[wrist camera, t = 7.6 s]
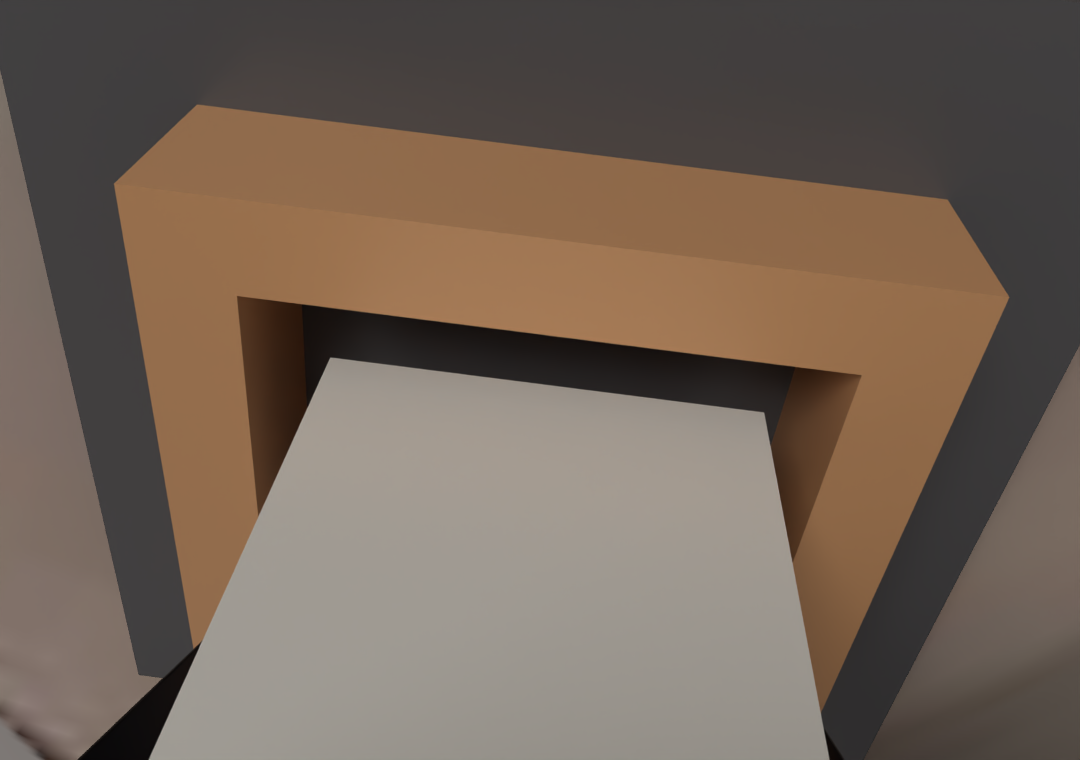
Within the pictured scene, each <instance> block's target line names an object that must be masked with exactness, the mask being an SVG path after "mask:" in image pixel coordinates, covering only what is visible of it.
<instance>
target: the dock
mask: <svg viewBox="0 0 1080 760" xmlns="http://www.w3.org/2000/svg"><path fill="white" fill-rule="evenodd" d="M0 70H1V75H2V79H3V84H4V88H5V92H6V97H7V101H8V105H9V110H10V114H11V119H12V123H13V127H14V132H15V136H16V140H17V145H18V149H19V154H20V158H21V162H22V167H23V171H24V175H25V180H26V184H27V188H28V193H29V197H30V202H31V206H32V210H33V215H34V219H35V223H36V228H37V232H38V237H39V241H40V245H41V250H42V254H43V258H44V263H45V267H46V272H47V276H48V280H49V285H50V289H51V293H52V298H53V302H54V306H55V311H56V315H57V320H58V324H59V328H60V333H61V337H62V341H63V346H64V350H65V355H66V359H67V363H68V368H69V372H70V376H71V381H72V385H73V390H74V394H75V398H76V403H77V407H78V411H79V416H80V420H81V424H82V429H83V433H84V438H85V442H86V446H87V451H88V455H89V459H90V464H91V468H92V473H93V477H94V481H95V486H96V490H97V494H98V499H99V503H100V508H101V512H102V516H103V521H104V525H105V529H106V534H107V538H108V542H109V547H110V551H111V556H112V560H113V564H114V569H115V573H116V577H117V582H118V586H119V591H120V595H121V599H122V604H123V608H124V612H125V617H126V621H127V626H128V630H129V634H130V639H131V643H132V647H133V652H134V656H135V660H136V665H137V669H138V674H139V675H144V676H151V677H159V678H164V677H165V676H166V675H167V674H168V673H169V672H170V671H171V670H172V669H173V668H174V667H175V666H176V665H177V664H178V663H179V662H180V661H181V660H182V659H184V658H185V657H186V656H187V655H188V654H189V653H190V652H191V651H192V650H193V649H194V648H195V647H196V646H197V645H198V644H199V643H200V642H201V641H202V640H203V638H204V636H205V634H206V632H207V629H208V627H209V625H210V623H211V621H212V618H213V616H214V614H215V612H216V610H217V607H218V605H219V603H220V601H221V598H222V596H223V594H224V592H225V590H226V587H227V585H228V583H229V581H230V579H231V576H232V574H233V572H234V570H235V567H236V565H237V563H238V561H239V559H240V556H241V554H242V552H243V550H244V548H245V545H246V543H247V541H248V539H249V536H250V534H251V532H252V530H253V528H254V525H255V523H256V521H257V519H258V517H259V514H260V512H261V510H262V508H263V505H264V503H265V501H266V499H267V497H268V494H269V492H270V490H271V488H272V486H273V483H274V481H275V479H276V477H277V474H278V472H279V470H280V468H281V466H282V463H283V461H284V459H285V457H286V455H287V452H288V450H289V448H290V446H291V443H292V441H293V439H294V437H295V435H296V432H297V430H298V428H299V426H300V424H301V421H302V419H303V417H304V415H305V412H306V410H307V408H308V406H309V404H310V401H311V399H312V397H313V395H314V393H315V390H316V388H317V386H318V384H319V381H320V379H321V377H322V375H323V373H324V370H325V368H326V366H327V364H328V362H329V359H330V357H331V358H339V359H346V360H354V361H362V362H370V363H378V364H386V365H394V366H402V367H409V368H417V369H425V370H433V371H441V372H449V373H457V374H465V375H473V376H480V377H488V378H496V379H504V380H512V381H520V382H528V383H536V384H543V385H551V386H559V387H567V388H575V389H583V390H591V391H599V392H606V393H614V394H622V395H630V396H638V397H646V398H654V399H662V400H670V401H677V402H685V403H693V404H701V405H709V406H717V407H725V408H733V409H740V410H748V411H756V412H764V415H765V420H766V425H767V431H768V436H769V441H770V447H771V452H772V457H773V462H774V468H775V473H776V478H777V484H778V489H779V494H780V500H781V505H782V510H783V516H784V521H785V526H786V531H787V537H788V542H789V547H790V553H791V558H792V563H793V569H794V574H795V579H796V585H797V590H798V595H799V601H800V606H801V611H802V616H803V622H804V627H805V632H806V638H807V643H808V648H809V654H810V659H811V664H812V670H813V675H814V680H815V686H816V691H817V696H818V701H819V707H820V712H821V717H822V723H823V727H824V728H825V730H826V731H827V733H828V735H829V736H830V738H831V739H832V741H833V742H834V744H835V746H836V747H837V749H838V750H839V752H840V753H841V755H842V757H843V758H844V760H863V759H864V757H865V755H866V754H867V752H868V750H869V748H870V746H871V744H872V742H873V740H874V738H875V736H876V734H877V732H878V730H879V729H880V727H881V725H882V723H883V721H884V719H885V717H886V715H887V713H888V711H889V709H890V707H891V706H892V704H893V702H894V700H895V698H896V696H897V694H898V692H899V690H900V688H901V686H902V684H903V683H904V681H905V679H906V677H907V675H908V673H909V671H910V669H911V667H912V665H913V663H914V661H915V660H916V658H917V656H918V654H919V652H920V650H921V648H922V646H923V644H924V642H925V640H926V638H927V637H928V635H929V633H930V631H931V629H932V627H933V625H934V623H935V621H936V619H937V617H938V615H939V614H940V612H941V610H942V608H943V606H944V604H945V602H946V600H947V598H948V596H949V594H950V592H951V590H952V589H953V587H954V585H955V583H956V581H957V579H958V577H959V575H960V573H961V571H962V569H963V567H964V566H965V564H966V562H967V560H968V558H969V556H970V554H971V552H972V550H973V548H974V546H975V544H976V543H977V541H978V539H979V537H980V535H981V533H982V531H983V529H984V527H985V525H986V523H987V521H988V520H989V518H990V516H991V514H992V512H993V510H994V508H995V506H996V504H997V502H998V500H999V498H1000V497H1001V495H1002V493H1003V491H1004V489H1005V487H1006V485H1007V483H1008V481H1009V479H1010V477H1011V475H1012V473H1013V472H1014V470H1015V468H1016V466H1017V464H1018V462H1019V460H1020V458H1021V456H1022V454H1023V452H1024V450H1025V449H1026V447H1027V445H1028V443H1029V441H1030V439H1031V437H1032V435H1033V433H1034V431H1035V429H1036V427H1037V426H1038V424H1039V422H1040V420H1041V418H1042V416H1043V414H1044V412H1045V410H1046V408H1047V406H1048V404H1049V403H1050V401H1051V399H1052V397H1053V395H1054V393H1055V391H1056V389H1057V387H1058V385H1059V383H1060V381H1061V380H1062V378H1063V376H1064V374H1065V372H1066V370H1067V368H1068V366H1069V364H1070V362H1071V360H1072V358H1073V356H1074V355H1075V353H1076V351H1077V349H1078V347H1079V345H1080V0H0Z"/></svg>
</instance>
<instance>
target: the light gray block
mask: <svg viewBox="0 0 1080 760" xmlns="http://www.w3.org/2000/svg"><path fill="white" fill-rule="evenodd" d="M149 760H829V755H828V749H827V744H826V739H825V733H824V728H823V723H822V717H821V712H820V707H819V701H818V696H817V691H816V686H815V680H814V675H813V670H812V664H811V659H810V654H809V648H808V643H807V638H806V632H805V627H804V622H803V616H802V611H801V606H800V601H799V595H798V590H797V585H796V579H795V574H794V569H793V563H792V558H791V553H790V547H789V542H788V537H787V531H786V526H785V521H784V516H783V510H782V505H781V500H780V494H779V489H778V484H777V478H776V473H775V468H774V462H773V457H772V452H771V447H770V441H769V436H768V431H767V425H766V420H765V415H764V412H756V411H748V410H740V409H733V408H725V407H717V406H709V405H701V404H693V403H685V402H677V401H670V400H662V399H654V398H646V397H638V396H630V395H622V394H614V393H606V392H599V391H591V390H583V389H575V388H567V387H559V386H551V385H543V384H536V383H528V382H520V381H512V380H504V379H496V378H488V377H480V376H473V375H465V374H457V373H449V372H441V371H433V370H425V369H417V368H409V367H402V366H394V365H386V364H378V363H370V362H362V361H354V360H346V359H339V358H331V357H330V359H329V362H328V364H327V366H326V368H325V370H324V373H323V375H322V377H321V379H320V381H319V384H318V386H317V388H316V390H315V393H314V395H313V397H312V399H311V401H310V404H309V406H308V408H307V410H306V412H305V415H304V417H303V419H302V421H301V424H300V426H299V428H298V430H297V432H296V435H295V437H294V439H293V441H292V443H291V446H290V448H289V450H288V452H287V455H286V457H285V459H284V461H283V463H282V466H281V468H280V470H279V472H278V474H277V477H276V479H275V481H274V483H273V486H272V488H271V490H270V492H269V494H268V497H267V499H266V501H265V503H264V505H263V508H262V510H261V512H260V514H259V517H258V519H257V521H256V523H255V525H254V528H253V530H252V532H251V534H250V536H249V539H248V541H247V543H246V545H245V548H244V550H243V552H242V554H241V556H240V559H239V561H238V563H237V565H236V567H235V570H234V572H233V574H232V576H231V579H230V581H229V583H228V585H227V587H226V590H225V592H224V594H223V596H222V598H221V601H220V603H219V605H218V607H217V610H216V612H215V614H214V616H213V618H212V621H211V623H210V625H209V627H208V629H207V632H206V634H205V636H204V638H203V641H202V643H201V645H200V647H199V649H198V652H197V654H196V656H195V658H194V661H193V663H192V665H191V667H190V669H189V672H188V674H187V676H186V678H185V680H184V683H183V685H182V687H181V689H180V692H179V694H178V696H177V698H176V700H175V703H174V705H173V707H172V709H171V711H170V714H169V716H168V718H167V720H166V723H165V725H164V727H163V729H162V731H161V734H160V736H159V738H158V740H157V742H156V745H155V747H154V749H153V751H152V754H151V756H150V758H149Z"/></svg>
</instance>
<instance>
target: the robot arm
mask: <svg viewBox="0 0 1080 760" xmlns="http://www.w3.org/2000/svg"><path fill="white" fill-rule="evenodd" d="M202 641H203V640H202ZM202 641H201V642H200V643H199V644H198V645H197V646H196V647H195V648H194V649H193V650H192V651H191V652H190V653H189V654H188V655H187V656H186V657H185V658H184V659H182V660H181V661H180V662H179V663H178V664H177V665H176V666H175V667H174V668H173V669H172V670H171V671H170V672H169V673H168V674H167V675H166V676H165V677H164V678H163V679H161V680H160V681H159V682H158V683H157V684H156V685H155V686H154V687H153V688H152V689H151V690H150V691H149V692H148V693H147V694H146V695H145V696H144V697H143V698H142V699H140V700H139V701H138V702H137V703H136V704H135V705H134V706H133V707H132V708H131V709H130V710H129V711H128V712H127V713H126V714H125V715H124V716H123V717H122V718H121V719H119V720H118V721H117V722H116V723H115V724H114V725H113V726H112V727H111V728H110V729H109V730H108V731H107V732H106V733H105V734H104V735H103V736H102V737H101V738H100V739H99V740H97V741H96V742H95V743H94V744H93V745H92V746H91V747H90V748H89V749H88V750H87V751H86V752H85V753H84V754H83V755H82V756H81V757H80V758H79V759H78V760H149V758H150V756H151V754H152V751H153V749H154V747H155V745H156V742H157V740H158V738H159V736H160V734H161V731H162V729H163V727H164V725H165V723H166V720H167V718H168V716H169V714H170V711H171V709H172V707H173V705H174V703H175V700H176V698H177V696H178V694H179V692H180V689H181V687H182V685H183V683H184V680H185V678H186V676H187V674H188V672H189V669H190V667H191V665H192V663H193V661H194V658H195V656H196V654H197V652H198V649H199V647H200V645H201V643H202ZM823 728H824V727H823ZM824 733H825V739H826V744H827V749H828V755H829V760H844V758H843V757H842V755H841V753H840V752H839V750H838V749H837V747H836V746H835V744H834V742H833V741H832V739H831V738H830V736H829V735H828V733H827V731H826V730H825V728H824Z"/></svg>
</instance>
